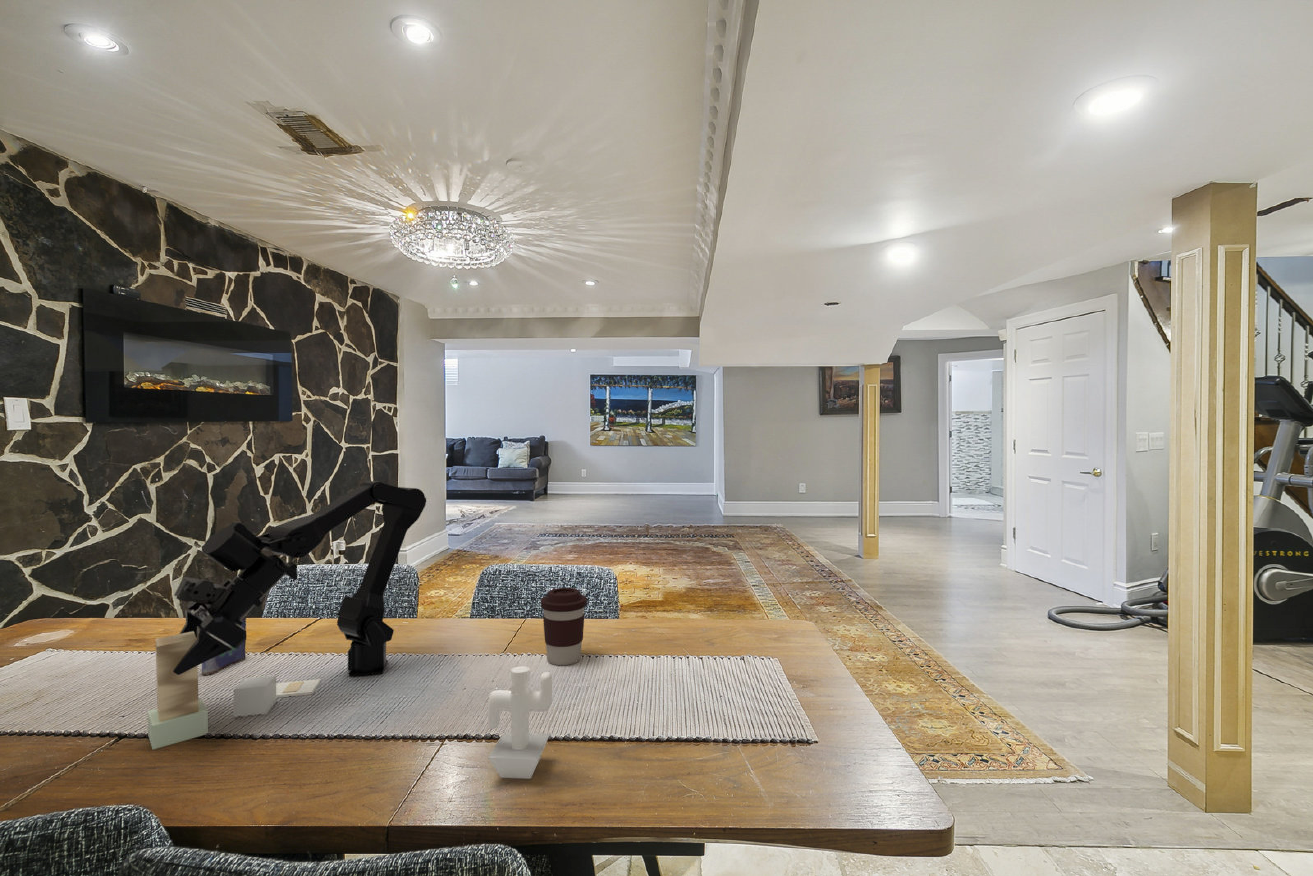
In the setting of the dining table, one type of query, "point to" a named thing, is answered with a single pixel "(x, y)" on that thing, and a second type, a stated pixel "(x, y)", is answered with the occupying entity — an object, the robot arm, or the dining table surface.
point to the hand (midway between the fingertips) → (171, 665)
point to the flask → (225, 657)
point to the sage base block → (177, 727)
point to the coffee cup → (563, 625)
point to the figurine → (519, 724)
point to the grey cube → (255, 695)
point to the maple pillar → (175, 677)
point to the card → (296, 688)
